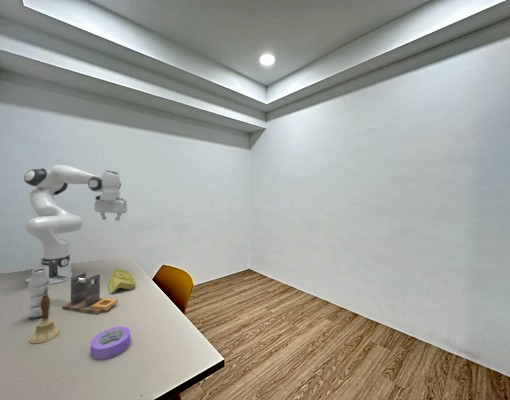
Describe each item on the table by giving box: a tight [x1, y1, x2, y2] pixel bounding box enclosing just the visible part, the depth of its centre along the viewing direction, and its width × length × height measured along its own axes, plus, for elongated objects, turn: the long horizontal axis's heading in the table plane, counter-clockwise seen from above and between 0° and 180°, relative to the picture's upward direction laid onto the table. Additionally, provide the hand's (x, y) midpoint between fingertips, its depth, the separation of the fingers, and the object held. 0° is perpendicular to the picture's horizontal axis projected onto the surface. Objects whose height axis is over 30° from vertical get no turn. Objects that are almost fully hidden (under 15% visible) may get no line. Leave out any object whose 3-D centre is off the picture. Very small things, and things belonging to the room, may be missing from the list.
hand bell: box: [28, 293, 61, 345], centre depth 80 cm, size 8×8×16 cm
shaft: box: [49, 260, 87, 283], centre depth 103 cm, size 23×3×9 cm, turn 80°
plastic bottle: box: [27, 269, 51, 319], centre depth 92 cm, size 6×7×20 cm
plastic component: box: [108, 268, 136, 294], centre depth 124 cm, size 20×7×10 cm
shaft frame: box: [61, 272, 117, 315], centre depth 101 cm, size 19×10×14 cm, turn 80°
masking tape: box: [90, 326, 131, 360], centre depth 76 cm, size 12×12×4 cm
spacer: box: [92, 298, 119, 311], centre depth 100 cm, size 1×7×7 cm
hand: (110, 220), depth 131 cm, fingers open, 8 cm apart
